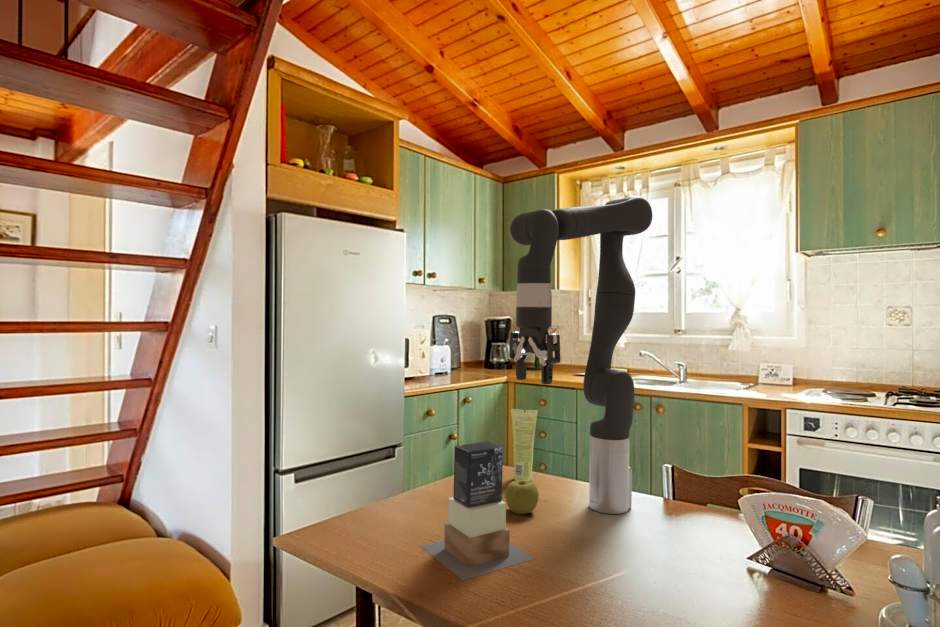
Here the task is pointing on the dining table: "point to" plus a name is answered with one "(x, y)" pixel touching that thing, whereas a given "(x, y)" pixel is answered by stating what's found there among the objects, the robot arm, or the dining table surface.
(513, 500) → the apple
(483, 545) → the block base
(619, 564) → the dining table surface
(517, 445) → the tube
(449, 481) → the dining table surface
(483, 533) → the block top
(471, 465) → the box
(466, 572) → the mat
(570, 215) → the robot arm
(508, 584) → the dining table surface
